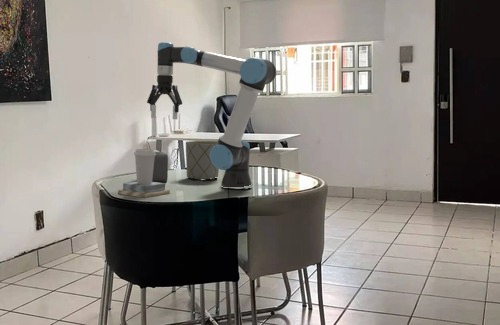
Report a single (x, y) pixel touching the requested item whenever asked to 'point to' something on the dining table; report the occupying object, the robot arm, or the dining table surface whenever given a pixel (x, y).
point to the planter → (200, 160)
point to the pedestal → (143, 189)
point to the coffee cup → (144, 165)
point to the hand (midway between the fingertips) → (164, 118)
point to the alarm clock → (160, 167)
